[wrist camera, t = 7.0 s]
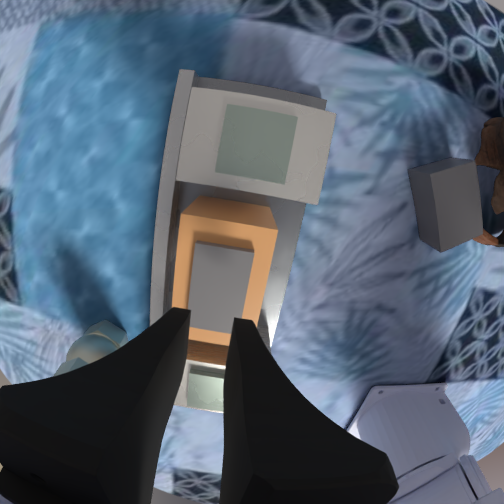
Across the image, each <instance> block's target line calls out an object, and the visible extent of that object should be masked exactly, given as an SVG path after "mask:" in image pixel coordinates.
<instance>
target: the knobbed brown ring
mask: <svg viewBox="0 0 504 504" xmlns="http://www.w3.org/2000/svg"><path fill="white" fill-rule="evenodd" d="M475 161H476V163H475V164H476V166H477V165H483V166H487V167H491V168H494V169H497V170H500V173H499V174H498V176H497V177H496V179H495V183H494V192H493V196H492V199H491V205H492V208H493V210H494V212H495V214H499V213H501V212H504V118H501V117H496V118H491V119H489V120H488V121H487V122H485V123H484V128H483V129H482V132H481V147H480V150H479V153H478V154H477V156H476V158H475ZM473 240H475V241H477V242H479V243H481V244H485V245H493V246H496V247H504V230H503V232H502V233H501V234H500V235H499V236H498V237H494V236H492V235H491V234H490V233H488V232H487V231H486V230H485V229H483V234H482V235H480V236H478V237H475V238H473Z"/></svg>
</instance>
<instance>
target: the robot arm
mask: <svg viewBox="0 0 504 504" xmlns="http://www.w3.org/2000/svg"><path fill="white" fill-rule="evenodd" d="M190 318H191V310H188V309H183V308H178V307H173V308H171V309H170V310H169V311H167V312H166V313H165V314H164V315H163V316H162V317H161V318H159V319H158V320H157V321H156V322H155V323H153V324H152V325H151V326H150V327H148V328H147V329H146V330H145V331H143V332H142V333H141V334H139V335H138V336H137V337H135V338H134V339H132V340H131V341H129V342H128V343H126V344H125V345H123V346H122V347H120V348H119V349H117V350H115V351H114V352H112V353H110V354H108V355H106V356H105V357H103V358H101V359H99V360H97V361H94V362H92V363H90V364H87V365H85V366H82V367H80V368H77V369H75V370H72V371H69V372H66V373H63V374H60V375H57V376H53V377H50V378H46V379H42V380H37V381H32V382H26V383H20V384H13V385H5V386H2V387H1V388H0V463H1V465H2V466H3V468H2V470H1V472H0V504H150V503H151V498H152V491H153V485H154V479H155V474H156V468H157V463H158V458H159V453H160V448H161V443H162V439H163V435H164V432H165V428H166V425H167V422H168V419H169V417H170V414H171V411H172V408H173V405H174V402H175V399H176V396H177V393H178V390H179V387H180V384H181V382H182V378H183V373H184V368H185V364H186V359H187V350H188V339H189V328H190ZM447 387H448V385H447V384H446V383H434V384H419V385H397V386H375V387H373V388H372V389H371V390H370V392H369V393H368V395H367V397H366V399H365V401H364V402H363V404H362V406H361V407H360V409H359V411H358V412H357V414H356V416H355V417H354V419H353V421H352V422H351V424H350V426H349V427H348V429H347V430H344V429H343V428H341V427H340V426H339V425H337V424H336V423H334V422H333V421H332V420H330V419H329V418H328V417H327V416H325V415H324V414H323V413H322V412H321V411H319V410H318V409H317V408H316V407H315V406H314V405H313V404H311V403H310V402H309V401H308V400H307V399H306V398H305V397H304V396H303V395H302V394H301V393H300V392H299V391H298V389H297V388H296V387H295V386H294V385H293V384H292V383H291V381H290V380H289V379H288V378H287V376H286V375H285V374H284V372H283V371H282V370H281V368H280V367H279V366H278V364H277V363H276V361H275V360H274V358H273V356H272V355H271V353H270V352H269V350H268V348H267V347H266V345H265V343H264V341H263V339H262V338H261V336H260V334H259V332H258V330H257V327H256V325H255V323H254V322H253V320H249V319H242V318H236V317H234V321H233V326H232V332H231V337H230V343H229V348H228V354H227V359H226V366H225V375H224V384H223V415H224V455H223V467H222V478H221V490H220V501H219V504H504V493H503V491H502V489H501V488H498V489H496V490H494V491H492V490H491V488H490V486H489V485H488V483H487V481H486V479H485V477H484V475H483V473H482V471H481V469H480V467H479V466H478V464H477V462H476V460H475V458H474V457H473V455H468V453H469V450H470V435H469V432H468V429H467V427H466V425H465V424H464V422H463V421H462V419H461V417H460V416H459V414H458V413H457V411H456V409H455V408H454V406H453V405H452V403H451V402H450V400H449V399H448V397H447V396H446V394H445V393H444V392H445V390H446V389H447Z"/></svg>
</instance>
